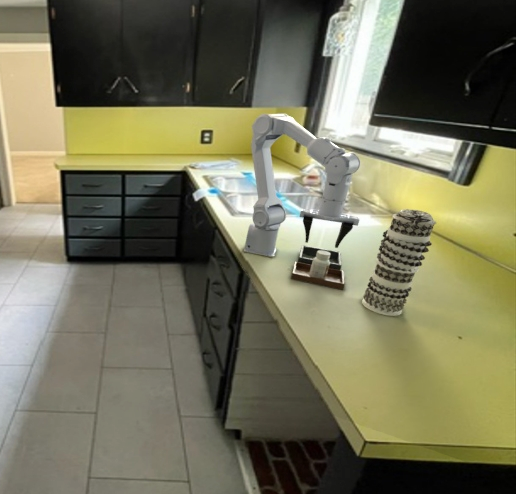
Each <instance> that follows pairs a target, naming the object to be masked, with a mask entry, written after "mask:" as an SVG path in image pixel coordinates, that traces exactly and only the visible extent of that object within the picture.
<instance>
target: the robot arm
mask: <svg viewBox="0 0 516 494" xmlns="http://www.w3.org/2000/svg"><path fill="white" fill-rule="evenodd" d="M251 130H252V138H251V143H250V148H251V156H252V163H253V164H252V165H253V171H254V177H255V184H256V185H255V186H256V192H257V201H256V202H255V203H254V205H253V207H252V208H253V213H252V222H253V223H250V224H249V226H248V229H247V234H246V237H245V242H244V243H245V244H244V249H243V252H244V253H249V254H255V255H260V256H265V257H270V258H274V257H275V255H276V252H277V250H278V249H277V247H276V245H277V240H278V235H279V231H280V228H281V224H282V223H284V222H285V220H286V219H287V211H286V209H285V207H284V204H283V200H282V199H281V198H279V197H278V196H277V189H276V183H275V182H276V180H275V175H274V165H273V160H272V151H271V147H272V146H273V145H274V143H275V142H276V141H277V140H278V139H280V138H281V137H282V136H283V135H284V136H287V137H289V138H290V139H292V140H293V141H295V142H296V143H297V144H300V145H301V146H303V147H304V148H306V153H307V156H309V157H310V158H312V159H313V160H314V161H316V162H317V163H318V164H320V165H321V166H322V167H324V171H325V173H326V178H325V179H326V181H325V184H324V187H323V191H322V197H321V199H320V204H319V206H318V209H305V208H301V209H300V213H299V218H302V223H303V227H304V233H305V241H304V243H306V244H308V243H309V240H310V234H311V229H312V225H313V221H314V219H315V220H321V221H328V222H336V223H340V228H339V232H338V235H337V238H336V240H335V244H334V248H336V249H338V248H339V246H340V244H341V243H342V241H343V240H344V238H345V237H346V236H347V235H348V234H349V233H350V232H351V231H352V230H353V228H354V226H356V227H358V226H359V223H360V220H361V217H360V216H354V215H350V214H345V213H343V211H344V207H345V203H346V200H347V197H348V193H349V190H350V186H351V182H352V179H353V175H354V174H355V173H356V172H357V171H358V170H359V169H360V166H361V161H360V158H359V156H357V154H356V153H355V152H346V149H345V148H344V147H339V146H338V145H336V144H335V143H333V142H332V138H330V137H324V136H320V137H317V136H315V135H314V134H312V133H311V132H310V131H309V130H307V129H306V128H304V126H302V125H301V124H299V123H298V122H297V121H296V120H295V119H294V117H292V116H289V115H288V114H287V113H284V112H281V113H262V114H260V115H258V116H257V117H256V119H255V120H254V122H253V123H252V124H251Z"/></svg>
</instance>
